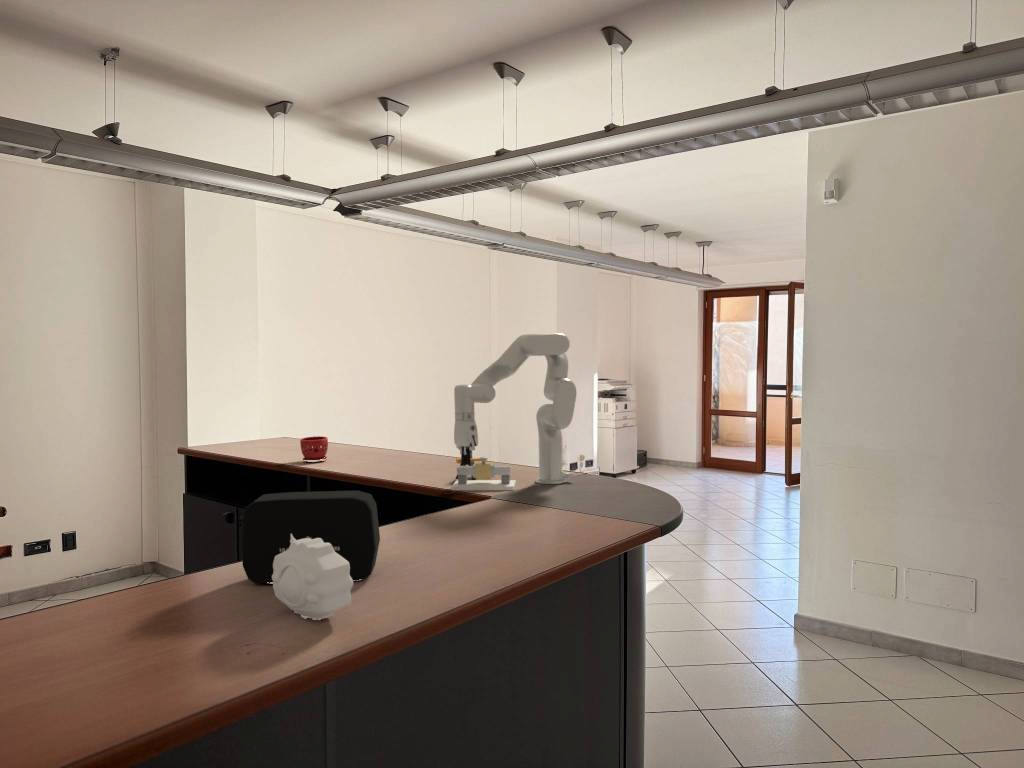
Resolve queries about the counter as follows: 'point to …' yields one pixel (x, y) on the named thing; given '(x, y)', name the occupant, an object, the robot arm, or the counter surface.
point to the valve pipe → (484, 470)
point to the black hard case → (310, 529)
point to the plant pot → (314, 447)
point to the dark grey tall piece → (468, 465)
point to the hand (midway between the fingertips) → (466, 464)
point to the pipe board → (484, 484)
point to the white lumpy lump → (312, 578)
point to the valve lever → (472, 459)
